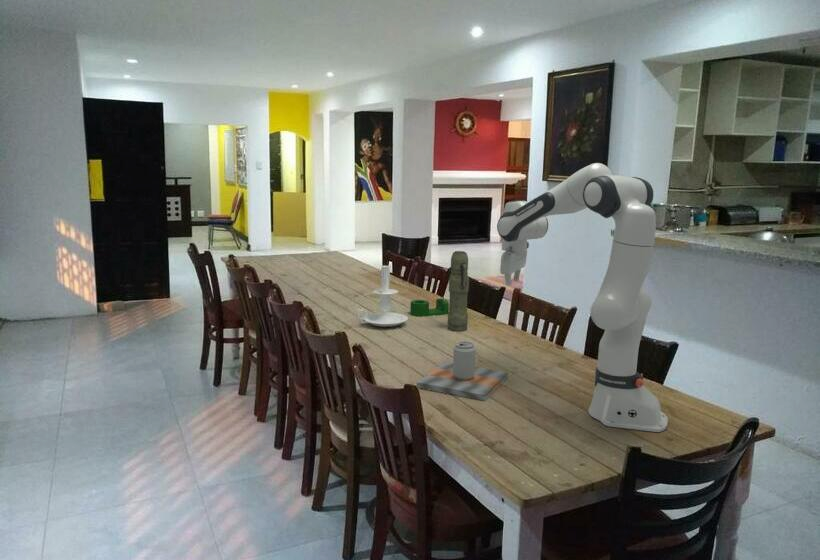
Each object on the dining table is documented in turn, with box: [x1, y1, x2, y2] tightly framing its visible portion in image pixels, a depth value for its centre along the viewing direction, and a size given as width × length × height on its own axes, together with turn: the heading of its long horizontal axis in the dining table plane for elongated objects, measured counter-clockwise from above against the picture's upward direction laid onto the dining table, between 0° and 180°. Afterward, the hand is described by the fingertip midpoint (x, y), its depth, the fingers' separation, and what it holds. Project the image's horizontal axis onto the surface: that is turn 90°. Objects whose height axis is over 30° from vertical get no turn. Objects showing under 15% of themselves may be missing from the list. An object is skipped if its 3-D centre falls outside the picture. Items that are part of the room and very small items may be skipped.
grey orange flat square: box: [416, 361, 509, 402], centre depth 212 cm, size 24×24×2 cm
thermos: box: [447, 250, 470, 333], centre depth 275 cm, size 9×12×35 cm
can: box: [452, 340, 477, 380], centre depth 211 cm, size 8×8×12 cm
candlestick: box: [356, 264, 409, 328], centre depth 280 cm, size 21×25×28 cm
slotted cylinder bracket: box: [409, 298, 449, 318], centre depth 304 cm, size 18×9×6 cm, turn 112°
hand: (512, 283), depth 226 cm, fingers open, 8 cm apart
